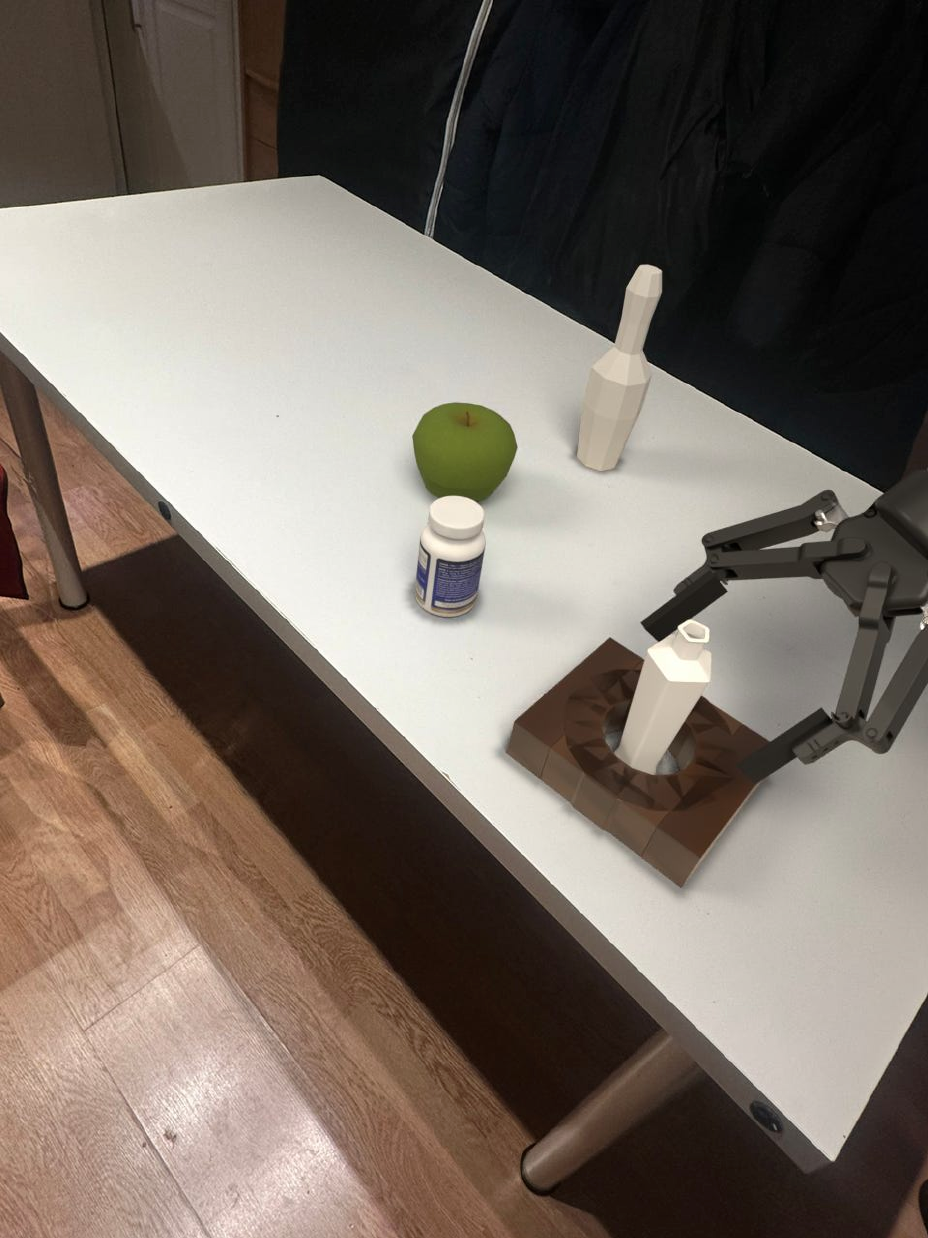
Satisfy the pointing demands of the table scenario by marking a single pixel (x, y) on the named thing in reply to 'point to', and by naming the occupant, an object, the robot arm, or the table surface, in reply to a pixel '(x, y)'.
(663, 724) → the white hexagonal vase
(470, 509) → the pill bottle
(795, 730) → the robot arm
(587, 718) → the hole plate
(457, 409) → the apple
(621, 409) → the faceted bottle
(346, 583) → the table surface
